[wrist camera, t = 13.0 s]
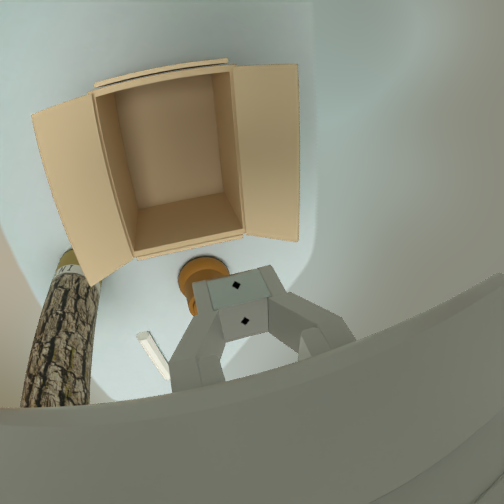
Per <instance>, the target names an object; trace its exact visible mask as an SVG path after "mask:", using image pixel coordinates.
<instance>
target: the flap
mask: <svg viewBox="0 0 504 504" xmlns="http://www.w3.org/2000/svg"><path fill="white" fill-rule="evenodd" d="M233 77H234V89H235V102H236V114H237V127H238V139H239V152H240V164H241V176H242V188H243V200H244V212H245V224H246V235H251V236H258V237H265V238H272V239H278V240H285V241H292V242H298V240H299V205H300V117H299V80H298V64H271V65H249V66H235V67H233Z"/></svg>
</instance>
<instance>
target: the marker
mask: <svg viewBox="0 0 504 504" xmlns="http://www.w3.org/2000/svg"><path fill="white" fill-rule="evenodd" d="M137 339H138V340H139V342H140V343H141V345H142V347H143V348H144V350H145V351H146V353H147V354H148V356H149V357H150V359H151V360H152V362H153V363H154V365H155V366H156V368H157V369H158V370H159V372H160V373H161V375H162V376H163V377H164V378H165V380H170V372H169V365H168V364H167V362H166V360H165V359H164V357H163V356H162V354H161V352H160V351H159V349H158V347H157V346H156V344H155V342H154V341H153V339H152V337H151V335H150V334H149V333H148V332H147V331H145V332H141V333H138V335H137ZM170 381H171V380H170Z"/></svg>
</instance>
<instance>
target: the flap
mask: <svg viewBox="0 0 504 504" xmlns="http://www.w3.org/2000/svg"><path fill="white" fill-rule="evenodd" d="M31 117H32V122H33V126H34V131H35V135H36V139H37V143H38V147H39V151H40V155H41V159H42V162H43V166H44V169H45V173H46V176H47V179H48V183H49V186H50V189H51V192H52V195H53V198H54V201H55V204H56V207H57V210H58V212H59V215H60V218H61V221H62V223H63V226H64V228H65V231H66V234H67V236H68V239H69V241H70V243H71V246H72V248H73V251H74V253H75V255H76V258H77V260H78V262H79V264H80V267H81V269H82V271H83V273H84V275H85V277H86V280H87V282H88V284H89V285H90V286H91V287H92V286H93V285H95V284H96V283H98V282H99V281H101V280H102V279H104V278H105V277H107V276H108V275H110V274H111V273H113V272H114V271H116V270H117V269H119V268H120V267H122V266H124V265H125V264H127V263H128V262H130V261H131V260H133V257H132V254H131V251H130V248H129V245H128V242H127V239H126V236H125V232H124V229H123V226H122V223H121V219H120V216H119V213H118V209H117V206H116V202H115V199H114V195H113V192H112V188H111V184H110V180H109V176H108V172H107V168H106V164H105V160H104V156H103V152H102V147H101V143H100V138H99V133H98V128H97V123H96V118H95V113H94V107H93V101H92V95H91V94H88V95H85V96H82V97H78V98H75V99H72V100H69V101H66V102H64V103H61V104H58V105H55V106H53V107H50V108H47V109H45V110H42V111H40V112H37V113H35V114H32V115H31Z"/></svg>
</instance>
